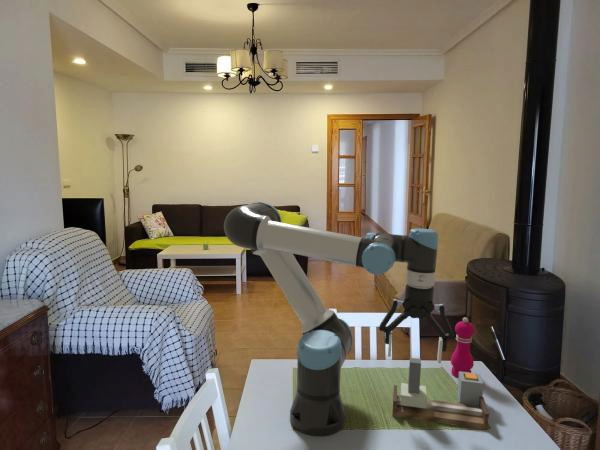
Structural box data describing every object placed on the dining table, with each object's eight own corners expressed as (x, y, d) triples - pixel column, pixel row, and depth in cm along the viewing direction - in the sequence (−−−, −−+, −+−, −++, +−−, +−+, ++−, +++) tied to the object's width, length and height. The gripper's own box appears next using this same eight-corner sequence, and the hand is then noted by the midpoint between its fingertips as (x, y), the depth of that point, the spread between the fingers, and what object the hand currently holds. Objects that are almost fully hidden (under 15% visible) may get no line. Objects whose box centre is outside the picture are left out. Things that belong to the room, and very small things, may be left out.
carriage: (400, 405, 123) (402, 364, 122) (400, 392, 130) (402, 354, 128) (426, 408, 122) (429, 367, 120) (425, 395, 129) (427, 356, 127)
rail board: (392, 415, 123) (393, 400, 123) (393, 399, 132) (393, 385, 131) (487, 429, 118) (489, 414, 117) (481, 411, 126) (483, 396, 126)
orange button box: (459, 406, 129) (461, 380, 128) (457, 396, 135) (458, 371, 133) (481, 409, 127) (483, 383, 126) (477, 398, 133) (480, 373, 132)
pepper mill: (474, 380, 144) (479, 322, 141) (451, 378, 146) (455, 320, 143) (470, 370, 151) (475, 314, 148) (448, 368, 153) (452, 312, 150)
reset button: (464, 396, 130) (466, 377, 129) (463, 391, 132) (465, 372, 132) (475, 398, 129) (477, 378, 128) (474, 392, 132) (475, 374, 131)
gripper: (373, 284, 120) (368, 357, 123) (469, 293, 115) (462, 370, 118) (374, 277, 127) (370, 346, 131) (465, 285, 122) (458, 358, 125)
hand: (413, 358), depth 124 cm, fingers open, 13 cm apart
